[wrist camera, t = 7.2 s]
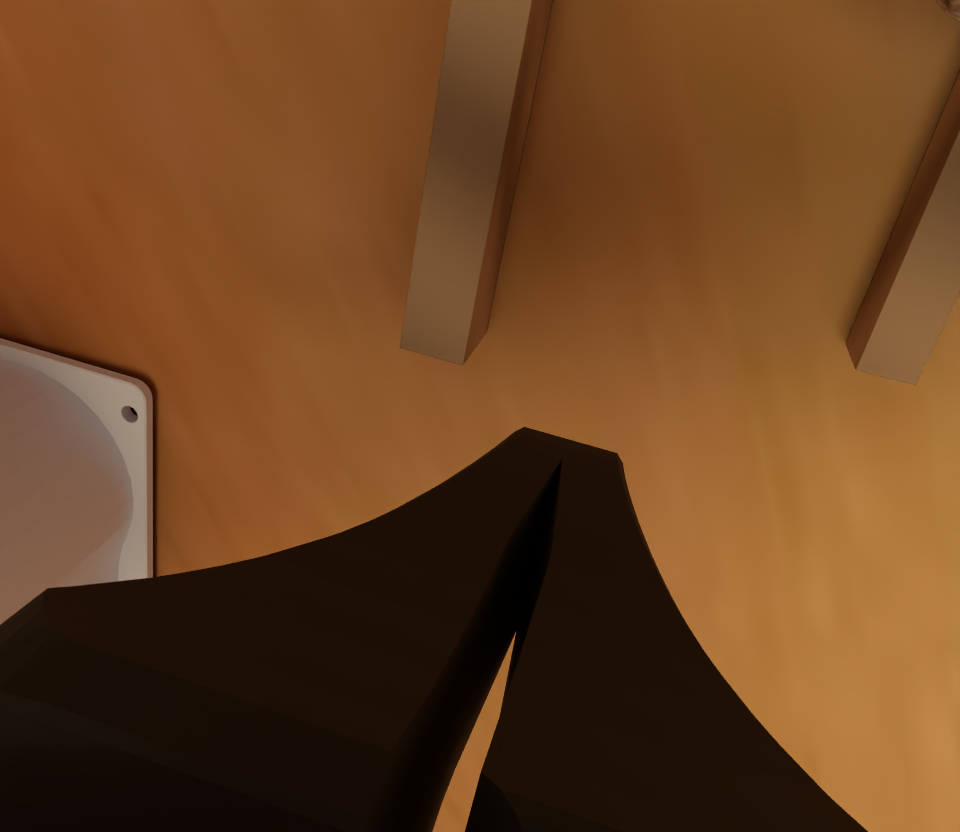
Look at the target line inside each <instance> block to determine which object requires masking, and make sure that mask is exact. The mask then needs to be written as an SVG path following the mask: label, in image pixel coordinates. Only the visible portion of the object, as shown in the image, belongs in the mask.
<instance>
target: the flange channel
mask: <svg viewBox="0 0 960 832" xmlns="http://www.w3.org/2000/svg"><path fill="white" fill-rule="evenodd" d="M552 2H553V0H452V1H451V8H450V14H449V21H448V28H447V34H446V41H445V48H444V54H443V61H442V68H441V75H440V81H439V88H438V95H437V101H436V108H435V115H434V121H433V128H432V135H431V142H430V148H429V155H428V162H427V168H426V175H425V182H424V188H423V195H422V202H421V209H420V215H419V222H418V229H417V235H416V242H415V249H414V255H413V262H412V269H411V276H410V282H409V289H408V296H407V302H406V309H405V316H404V323H403V329H402V336H401V343H400V348H401V349H405V350H408V351H412V352H416V353H419V354H423V355H427V356H430V357H434V358H437V359H441V360H445V361H448V362H452V363H455V364H459V365H463V364H464V363H465V362H466V360H467V359H468V357H469V356H470V355H471V353H472V352H473V350H474V349H475V348H476V346H477V345H478V344H479V342H480V341H481V339H482V338H483V337H484V335H485V334H486V331H487V326H488V321H489V316H490V311H491V306H492V301H493V296H494V291H495V286H496V281H497V276H498V271H499V266H500V261H501V256H502V251H503V246H504V241H505V236H506V231H507V226H508V221H509V216H510V211H511V206H512V201H513V196H514V191H515V186H516V181H517V176H518V171H519V166H520V161H521V156H522V151H523V146H524V141H525V137H526V132H527V127H528V122H529V117H530V112H531V107H532V102H533V97H534V92H535V87H536V82H537V77H538V72H539V67H540V62H541V57H542V52H543V47H544V42H545V37H546V32H547V27H548V22H549V17H550V12H551V7H552ZM959 293H960V72H959V75H958V77H957V79H956V82H955V84H954V86H953V89H952V91H951V94H950V96H949V98H948V101H947V103H946V105H945V108H944V110H943V113H942V115H941V117H940V120H939V122H938V125H937V127H936V129H935V132H934V134H933V136H932V139H931V141H930V144H929V146H928V148H927V151H926V153H925V155H924V158H923V160H922V163H921V165H920V167H919V170H918V172H917V174H916V177H915V179H914V182H913V184H912V186H911V189H910V191H909V194H908V196H907V198H906V201H905V203H904V205H903V208H902V210H901V213H900V215H899V217H898V220H897V222H896V224H895V227H894V229H893V232H892V234H891V236H890V239H889V241H888V243H887V246H886V248H885V251H884V253H883V255H882V258H881V260H880V263H879V265H878V267H877V270H876V272H875V274H874V277H873V279H872V282H871V284H870V286H869V289H868V291H867V293H866V296H865V298H864V301H863V303H862V305H861V308H860V310H859V313H858V315H857V317H856V320H855V322H854V324H853V327H852V329H851V332H850V334H849V336H848V339H847V341H846V346H847V349H848V351H849V354H850V356H851V359H852V362H853V364H854V367H855V369H856V370H857V371H861V372H865V373H869V374H873V375H876V376H880V377H884V378H888V379H892V380H896V381H899V382H903V383H907V384H911V385H915V386H916V383H917V381H918V379H919V377H920V375H921V373H922V371H923V369H924V367H925V365H926V362H927V360H928V358H929V356H930V354H931V352H932V350H933V348H934V346H935V343H936V341H937V339H938V337H939V335H940V333H941V331H942V329H943V327H944V325H945V322H946V320H947V318H948V316H949V314H950V312H951V310H952V308H953V306H954V303H955V301H956V299H957V297H958V295H959Z"/></svg>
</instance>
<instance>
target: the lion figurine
mask: <svg viewBox="0 0 960 832" xmlns="http://www.w3.org/2000/svg"><path fill="white" fill-rule="evenodd" d="M936 2H937V3H938V4H939V6H940V7H941V8H942V9H943V10H944V12H945V13H946V14H947V15H948V16H949V17H952V18H955V19H956V20H957V21H960V0H936Z"/></svg>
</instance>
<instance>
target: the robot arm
mask: <svg viewBox="0 0 960 832" xmlns="http://www.w3.org/2000/svg"><path fill="white" fill-rule="evenodd" d="M130 407H132V408H134V410H135V411H136V412H137V415H138V416H136V415H134V414H133V413H132V411H131V409H130ZM515 632H516V636H515V641H514V646H513V651H512V656H511V661H510V666H509V671H508V677H507V682H506V687H505V692H504V697H503V702H502V708H501V713H500V717H499V720H498V723H497V726H496V729H495V732H494V735H493V738H492V741H491V744H490V747H489V750H488V753H487V756H486V759H485V762H484V765H483V767H482V770H481V774H480V777H479V781H478V785H477V789H476V792H475V796H474V800H473V803H472V807H471V811H470V815H469V818H468V822H467V826H466V830H465V832H868V831H867V830H866V829H864V828H863V827H862V826H861V825H860V824H859V823H858V822H857V821H856V820H854V819H853V818H852V817H851V816H850V815H849V814H848V813H847V812H846V811H844V810H843V809H842V808H841V807H840V806H839V805H838V804H837V803H836V802H835V801H834V800H832V799H831V798H830V797H829V796H828V795H827V794H826V793H825V792H824V791H823V790H822V789H821V788H820V787H819V786H818V784H817V783H816V782H815V781H814V780H813V779H812V778H811V777H810V776H809V775H808V774H807V773H806V772H805V771H804V770H803V769H802V768H801V767H800V766H799V765H798V764H797V763H796V762H795V761H794V760H793V758H792V757H791V756H790V755H789V754H788V753H787V752H786V751H785V750H784V749H783V748H782V747H781V746H780V745H779V744H778V743H777V741H776V740H775V739H774V738H773V737H772V736H771V735H770V734H769V732H768V731H767V730H766V729H765V728H764V727H763V726H762V724H761V723H760V722H759V721H758V720H757V719H756V718H755V716H754V715H753V714H752V713H751V712H750V710H749V709H748V708H747V707H746V705H745V704H744V703H743V702H742V700H741V699H740V698H739V696H738V695H737V694H736V693H735V691H734V690H733V689H732V688H731V686H730V685H729V684H728V683H727V681H726V680H725V679H724V678H723V676H722V675H721V674H720V672H719V671H718V670H717V668H716V667H715V665H714V664H713V663H712V661H711V660H710V659H709V657H708V656H707V654H706V653H705V652H704V650H703V649H702V647H701V645H700V644H699V642H698V641H697V639H696V638H695V636H694V635H693V633H692V631H691V630H690V628H689V627H688V625H687V624H686V622H685V620H684V618H683V617H682V615H681V613H680V611H679V609H678V608H677V606H676V604H675V602H674V600H673V598H672V596H671V594H670V592H669V590H668V588H667V586H666V584H665V582H664V580H663V578H662V576H661V574H660V572H659V570H658V568H657V566H656V564H655V561H654V559H653V557H652V555H651V552H650V550H649V547H648V545H647V542H646V540H645V537H644V535H643V532H642V529H641V527H640V524H639V522H638V519H637V516H636V513H635V510H634V507H633V504H632V501H631V497H630V494H629V491H628V487H627V483H626V479H625V474H624V468H623V463H622V461H621V459H620V457H619V456H618V454H617V453H614V452H611V451H607V450H604V449H600V448H597V447H593V446H590V445H586V444H583V443H579V442H576V441H572V440H569V439H565V438H562V437H558V436H555V435H551V434H548V433H544V432H540V431H537V430H533V429H530V428H526V427H523V428H521V429H519V430H517V431H515V432H514V433H512V434H511V435H510V436H509V437H508V438H506V439H505V440H504V441H502V442H501V443H500V444H499V445H497V446H496V447H495V448H493V449H492V450H491V451H489V452H488V453H486V454H485V455H484V456H482V457H481V458H479V459H478V460H477V461H475V462H474V463H472V464H471V465H469V466H468V467H466V468H464V469H463V470H461V471H460V472H458V473H457V474H455V475H454V476H452V477H451V478H449V479H448V480H446V481H444V482H443V483H441V484H440V485H438V486H436V487H435V488H433V489H431V490H429V491H427V492H425V493H424V494H422V495H420V496H418V497H416V498H414V499H413V500H411V501H409V502H407V503H405V504H404V505H402V506H400V507H398V508H396V509H394V510H392V511H390V512H388V513H386V514H384V515H382V516H380V517H378V518H375V519H373V520H371V521H368V522H366V523H363V524H361V525H358V526H356V527H353V528H351V529H348V530H346V531H343V532H341V533H338V534H335V535H332V536H329V537H326V538H323V539H319V540H316V541H313V542H309V543H306V544H303V545H299V546H296V547H293V548H289V549H286V550H283V551H279V552H276V553H273V554H269V555H266V556H262V557H258V558H254V559H249V560H245V561H240V562H236V563H231V564H227V565H222V566H217V567H212V568H206V569H201V570H195V571H190V572H184V573H179V574H172V575H166V576H159V577H153V398H152V393H151V391H150V389H149V387H148V386H147V385H146V384H145V383H144V382H143V381H141V380H139V379H137V378H133V377H130V376H127V375H123V374H120V373H117V372H113V371H110V370H106V369H103V368H100V367H96V366H93V365H89V364H86V363H83V362H79V361H76V360H73V359H69V358H66V357H62V356H59V355H56V354H52V353H49V352H46V351H42V350H39V349H35V348H32V347H29V346H25V345H22V344H19V343H15V342H12V341H8V340H5V339H2V338H0V832H432V831H433V828H434V825H435V822H436V819H437V816H438V813H439V810H440V807H441V804H442V801H443V798H444V796H445V793H446V791H447V788H448V786H449V783H450V781H451V778H452V776H453V773H454V770H455V768H456V766H457V763H458V761H459V759H460V757H461V754H462V752H463V750H464V748H465V745H466V743H467V741H468V739H469V736H470V734H471V732H472V730H473V727H474V725H475V723H476V721H477V718H478V716H479V714H480V712H481V709H482V707H483V705H484V703H485V700H486V698H487V696H488V694H489V691H490V689H491V687H492V685H493V682H494V680H495V678H496V676H497V673H498V671H499V669H500V667H501V664H502V662H503V660H504V658H505V655H506V653H507V651H508V648H509V646H510V644H511V642H512V639H513V637H514V635H515Z"/></svg>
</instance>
